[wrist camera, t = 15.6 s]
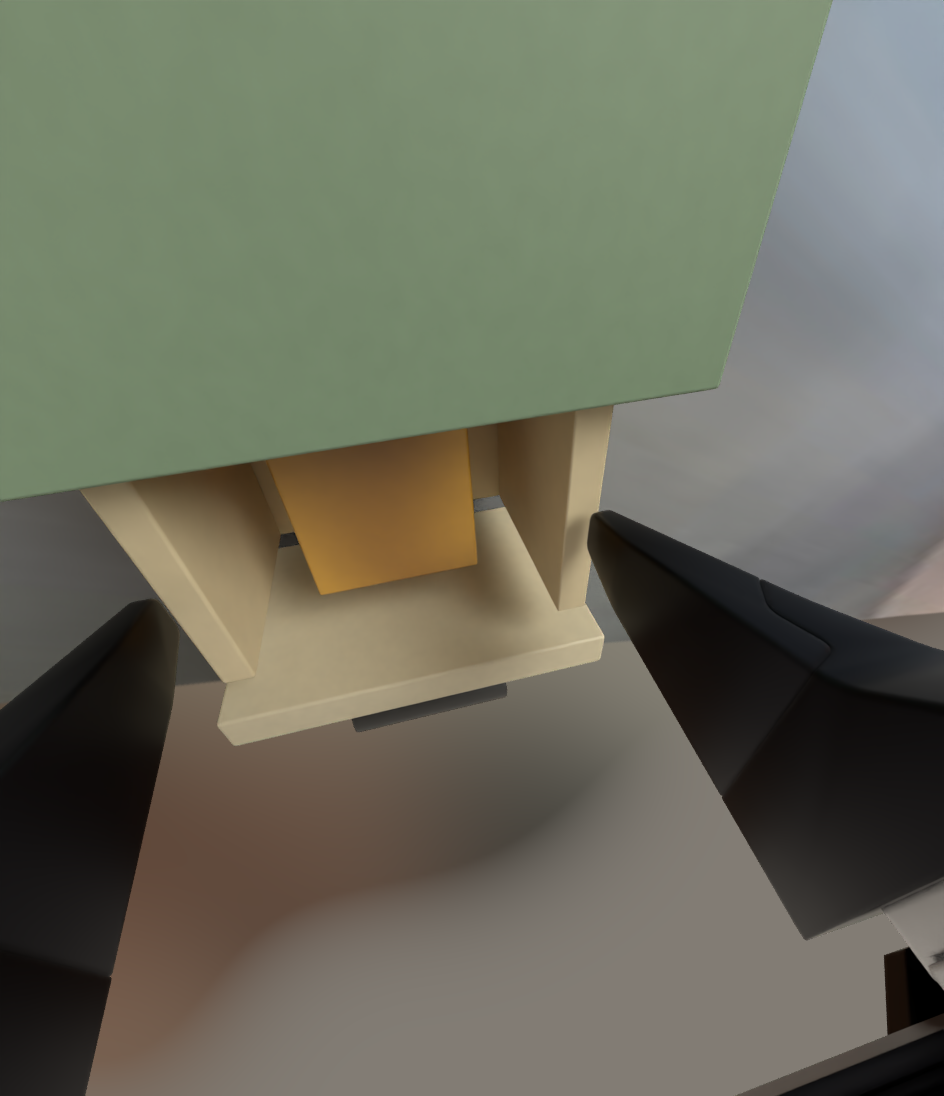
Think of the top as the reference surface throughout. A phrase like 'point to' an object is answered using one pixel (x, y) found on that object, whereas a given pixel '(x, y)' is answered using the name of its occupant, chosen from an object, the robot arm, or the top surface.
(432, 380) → the cabinet
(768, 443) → the top surface
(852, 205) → the top surface
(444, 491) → the block
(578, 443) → the drawer
